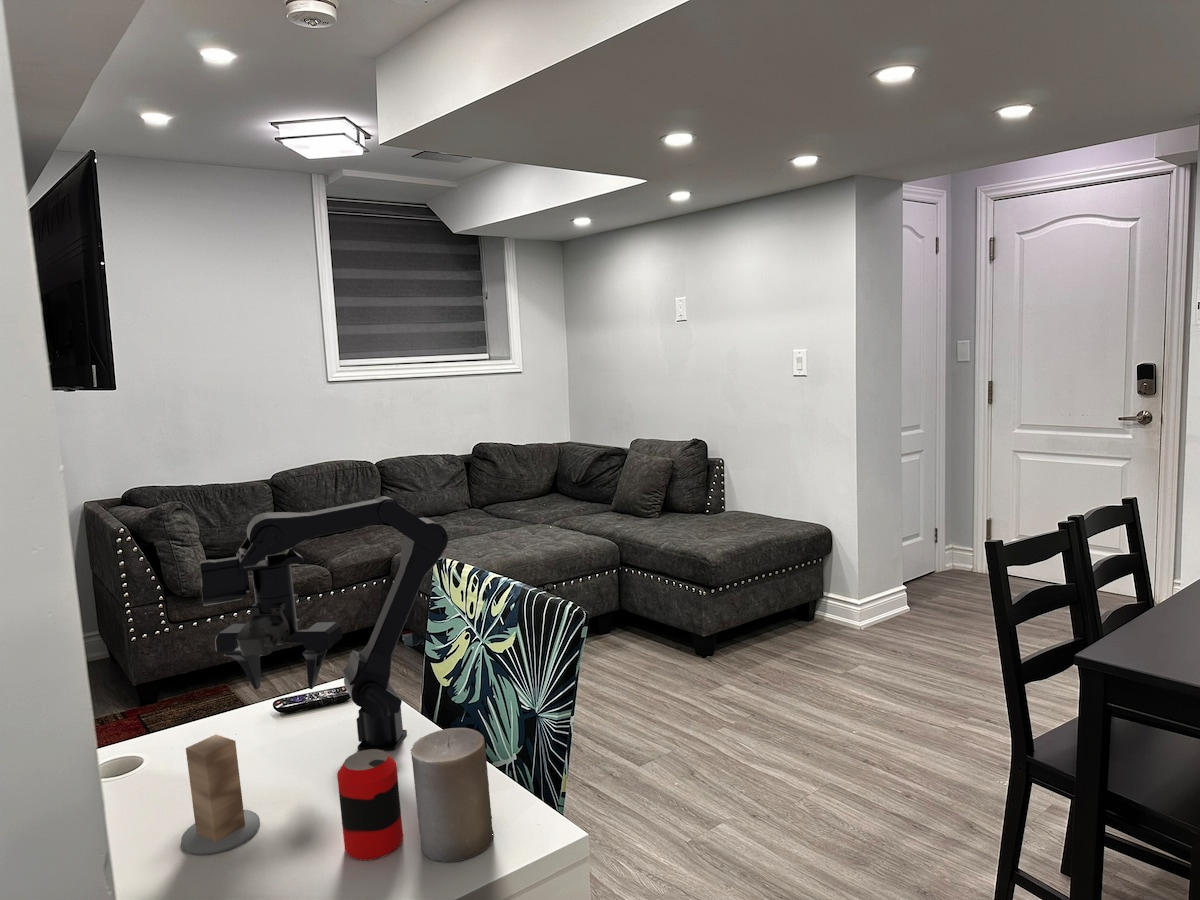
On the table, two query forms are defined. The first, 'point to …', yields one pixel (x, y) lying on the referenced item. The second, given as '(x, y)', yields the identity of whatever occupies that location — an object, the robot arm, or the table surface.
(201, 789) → the walnut block
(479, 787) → the pillar candle
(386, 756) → the soda can
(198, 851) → the charcoal coaster
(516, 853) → the table surface
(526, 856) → the table surface
